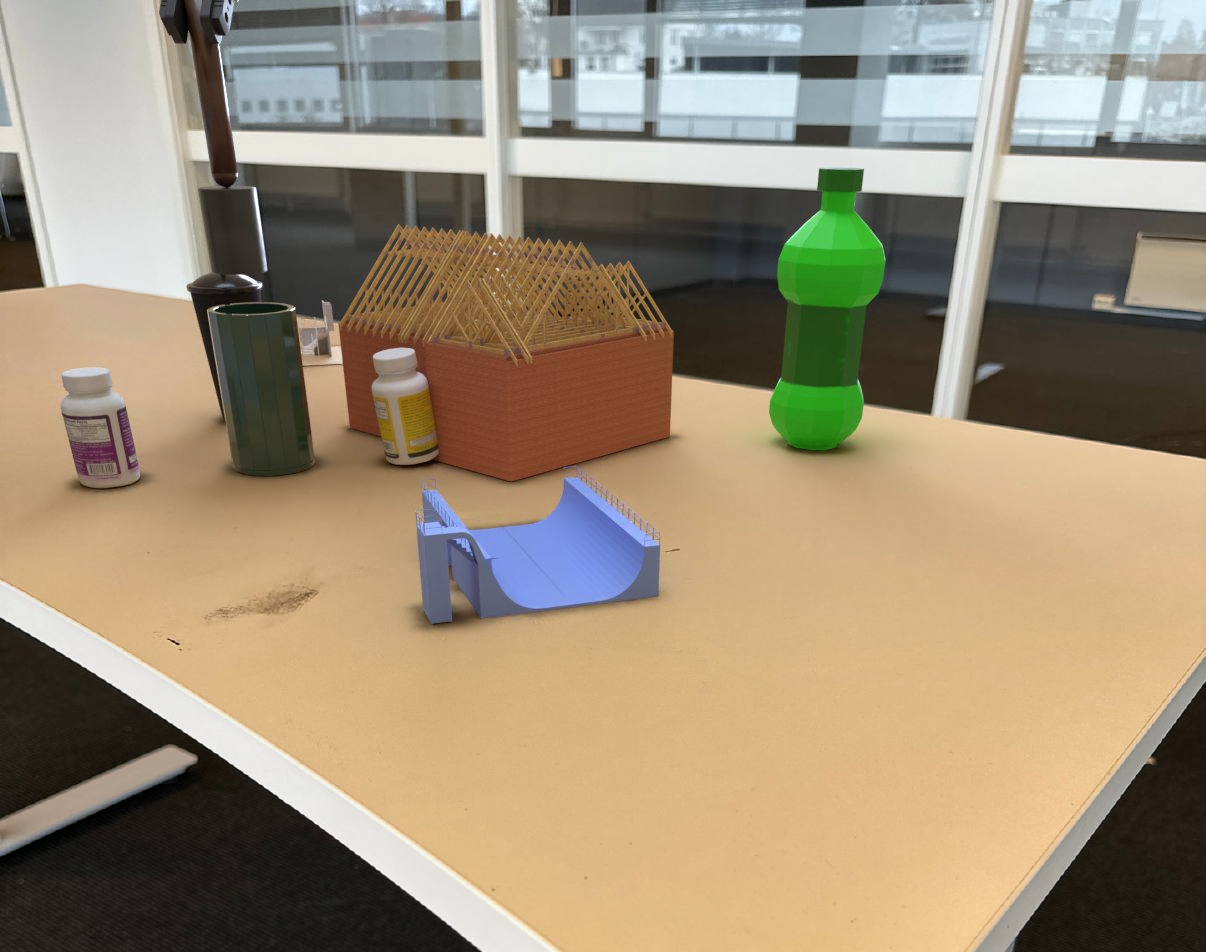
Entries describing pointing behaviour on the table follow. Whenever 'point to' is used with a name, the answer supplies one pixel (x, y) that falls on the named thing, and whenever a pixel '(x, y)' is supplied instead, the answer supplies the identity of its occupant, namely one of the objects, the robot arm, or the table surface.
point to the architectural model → (319, 341)
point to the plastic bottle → (826, 316)
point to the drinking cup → (215, 293)
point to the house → (514, 353)
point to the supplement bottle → (403, 408)
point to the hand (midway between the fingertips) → (192, 33)
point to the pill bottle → (98, 429)
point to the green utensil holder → (262, 387)
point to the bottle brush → (223, 168)
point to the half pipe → (536, 557)
